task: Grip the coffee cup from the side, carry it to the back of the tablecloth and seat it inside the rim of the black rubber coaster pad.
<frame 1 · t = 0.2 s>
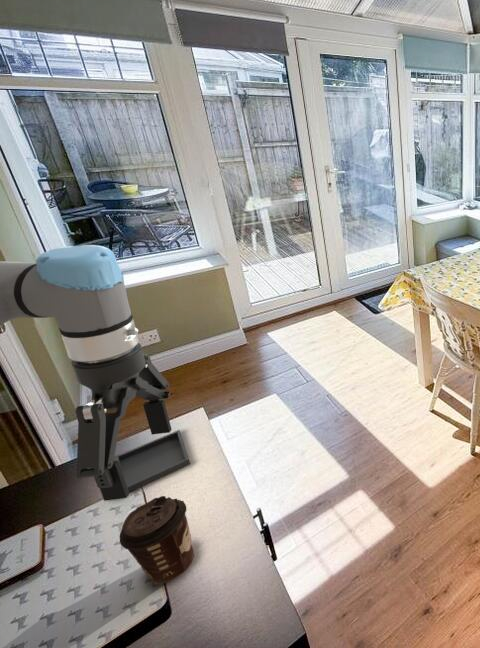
hand: (141, 461, 68), 21 cm above the table, tool pointing down, fingers open, 13 cm apart
coaster pad: (153, 463, 92), on the table
coffee cup: (174, 565, 73), on the table
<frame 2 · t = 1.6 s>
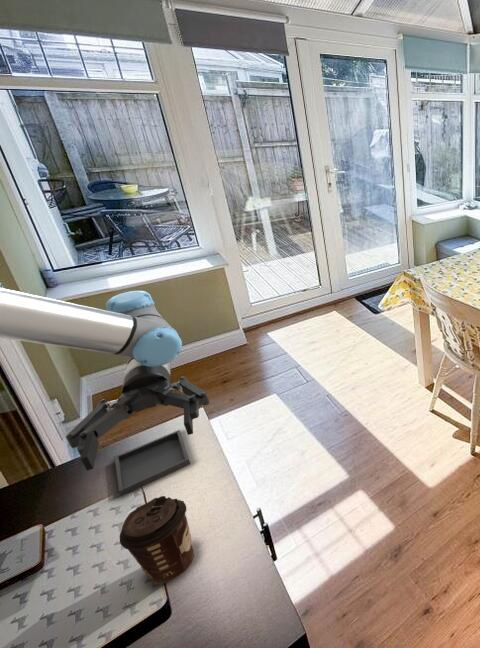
hand: (140, 445, 72), 20 cm above the table, tool horizontal, fingers open, 13 cm apart
nothing on the table moved.
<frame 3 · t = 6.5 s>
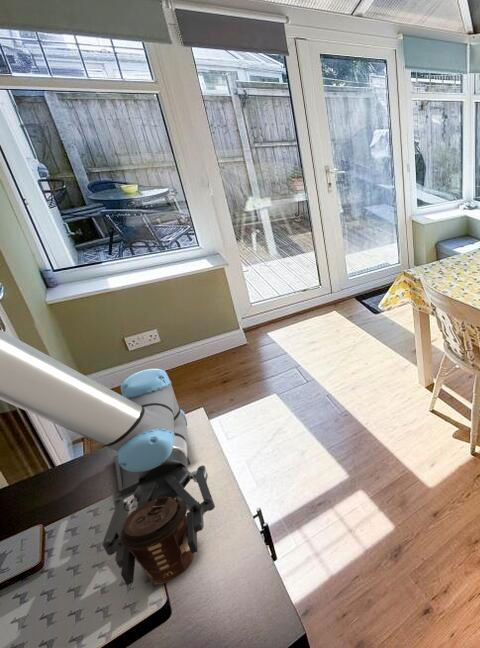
hand: (161, 562, 66), 7 cm above the table, tool horizontal, fingers closed on coffee cup, 8 cm apart
coffee cup: (174, 565, 73), on the table, touching gripper
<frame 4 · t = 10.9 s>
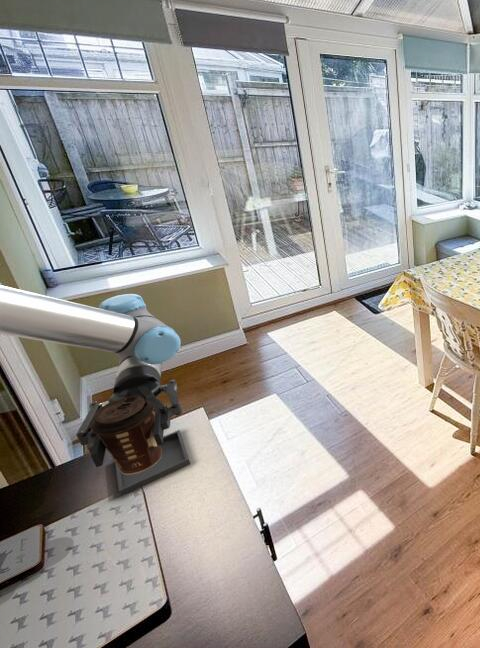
hand: (128, 449, 73), 18 cm above the table, tool horizontal, fingers closed on coffee cup, 8 cm apart
coffee cup: (143, 461, 80), point 11 cm above the table, touching gripper
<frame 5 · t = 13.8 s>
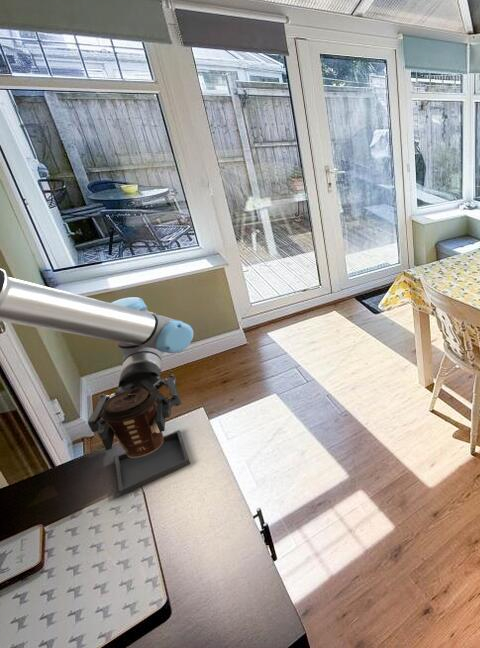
hand: (134, 435, 83), 12 cm above the table, tool horizontal, fingers closed on coffee cup, 8 cm apart
coffee cup: (146, 446, 90), point 5 cm above the table, touching gripper
when the fingers open (8 cm above the table, at t = 15.6 s): coffee cup stays where it is, resting on coaster pad.
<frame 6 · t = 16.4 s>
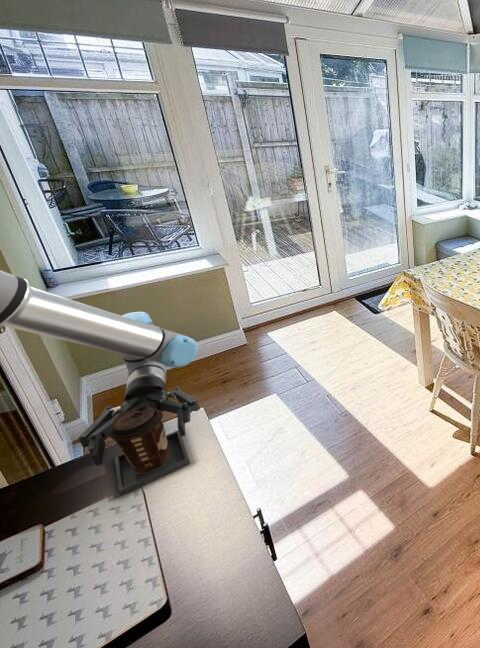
hand: (140, 445, 86), 8 cm above the table, tool horizontal, fingers open, 13 cm apart
coffee cup: (153, 462, 91), resting on coaster pad
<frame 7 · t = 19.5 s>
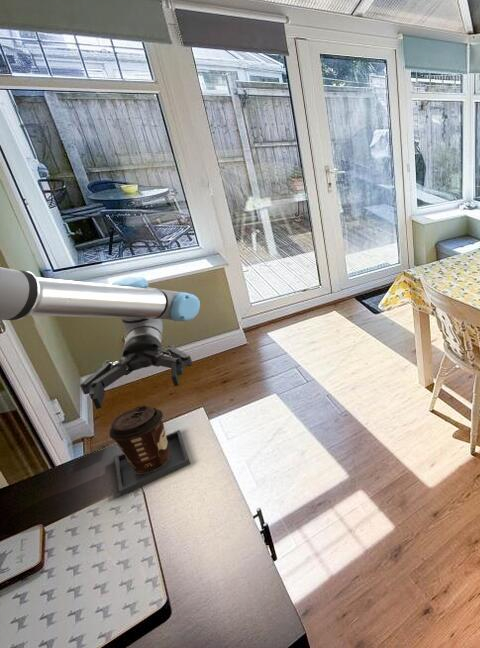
hand: (137, 392, 93), 13 cm above the table, tool horizontal, fingers open, 13 cm apart
nothing on the table moved.
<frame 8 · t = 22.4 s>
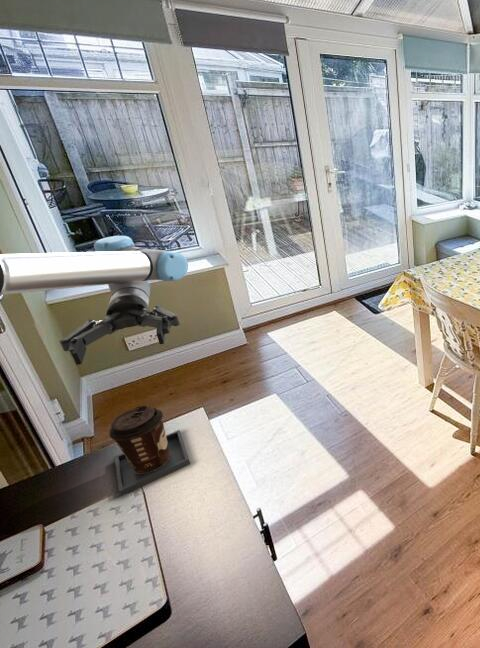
hand: (120, 348, 89), 25 cm above the table, tool horizontal, fingers open, 13 cm apart
nothing on the table moved.
at the end: coffee cup 0.0 cm off-centre in the coaster pad, point 0.3 cm above the coaster pad's base; coffee cup tilted 0°; the gripper is holding nothing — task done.
